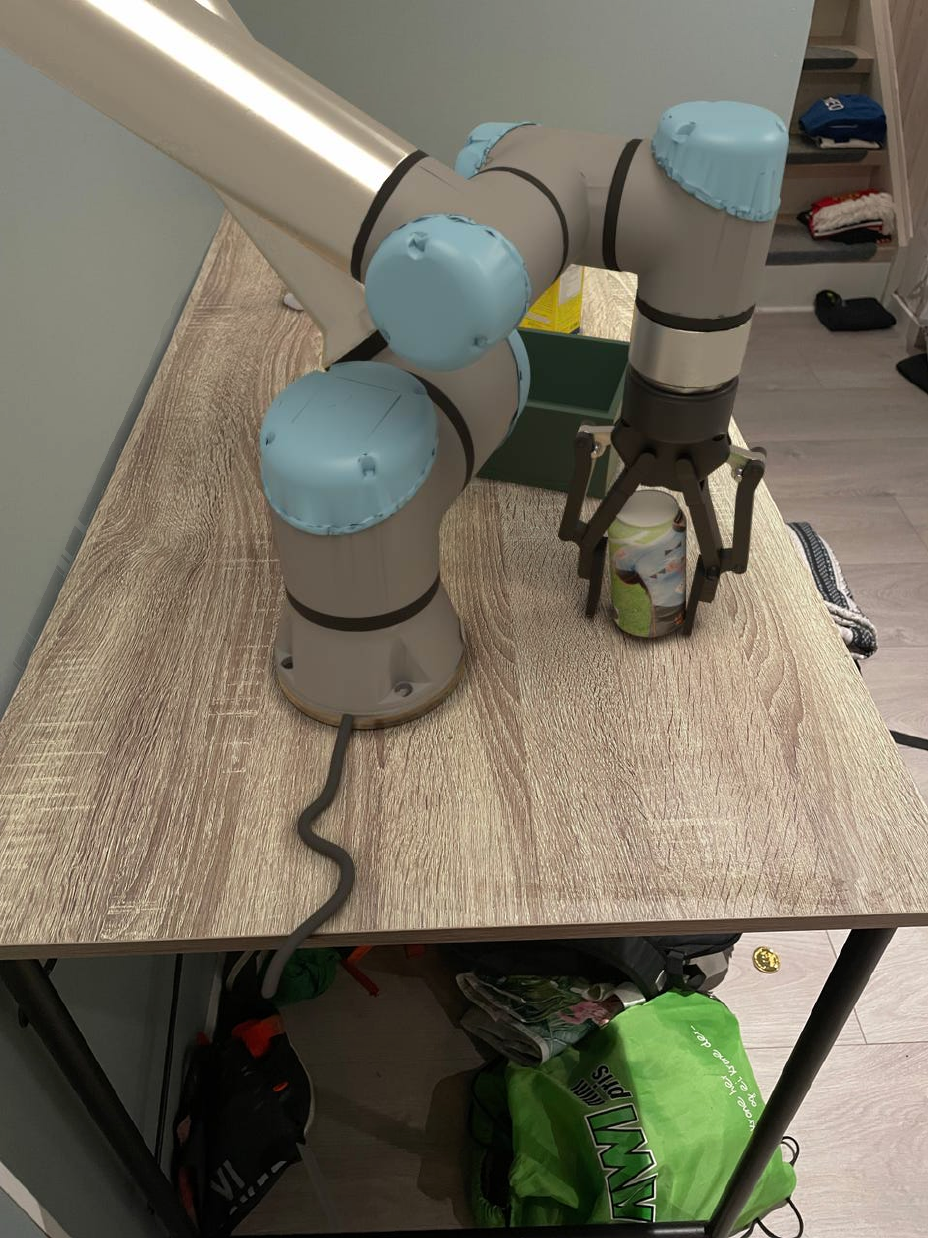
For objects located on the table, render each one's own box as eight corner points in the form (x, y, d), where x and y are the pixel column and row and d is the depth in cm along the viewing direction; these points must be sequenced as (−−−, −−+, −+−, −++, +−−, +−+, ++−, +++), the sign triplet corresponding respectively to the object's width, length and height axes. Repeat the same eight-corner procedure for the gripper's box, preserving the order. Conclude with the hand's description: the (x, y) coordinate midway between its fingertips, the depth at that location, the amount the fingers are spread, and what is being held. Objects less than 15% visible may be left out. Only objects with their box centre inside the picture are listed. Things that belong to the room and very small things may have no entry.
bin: (604, 499, 90) (614, 419, 84) (454, 472, 93) (453, 393, 87) (632, 419, 101) (642, 343, 95) (496, 397, 104) (498, 323, 98)
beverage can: (681, 651, 75) (708, 536, 66) (592, 639, 76) (606, 524, 67) (684, 601, 79) (708, 487, 71) (599, 590, 80) (613, 476, 72)
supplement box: (542, 318, 119) (547, 233, 111) (580, 331, 116) (588, 245, 108) (514, 335, 115) (517, 248, 108) (553, 349, 113) (559, 261, 105)
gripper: (841, 362, 62) (766, 610, 77) (549, 322, 66) (534, 564, 82) (839, 418, 56) (759, 672, 72) (523, 371, 61) (512, 619, 77)
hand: (640, 614), depth 77 cm, fingers closed on beverage can, 7 cm apart
